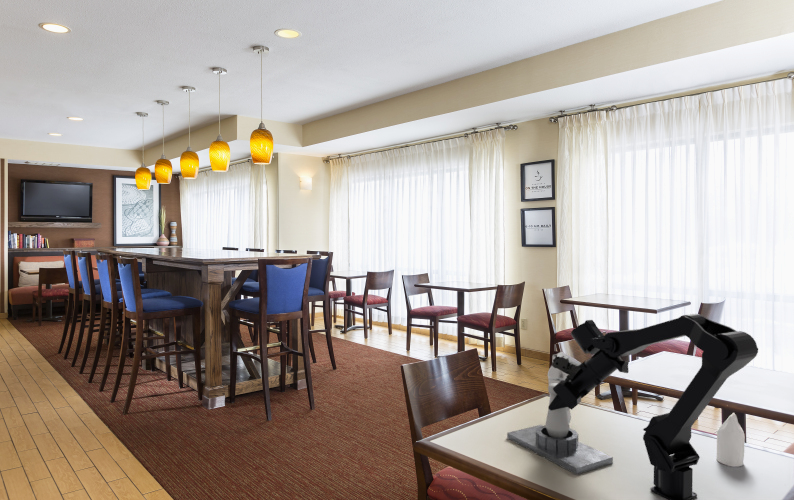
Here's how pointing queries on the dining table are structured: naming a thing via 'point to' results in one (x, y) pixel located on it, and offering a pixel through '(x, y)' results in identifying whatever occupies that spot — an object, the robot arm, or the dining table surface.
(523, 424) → the dining table surface
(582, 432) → the dining table surface
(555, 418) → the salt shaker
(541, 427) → the plate with ring
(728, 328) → the robot arm
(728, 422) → the white pointed cylinder
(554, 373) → the plastic bottle
